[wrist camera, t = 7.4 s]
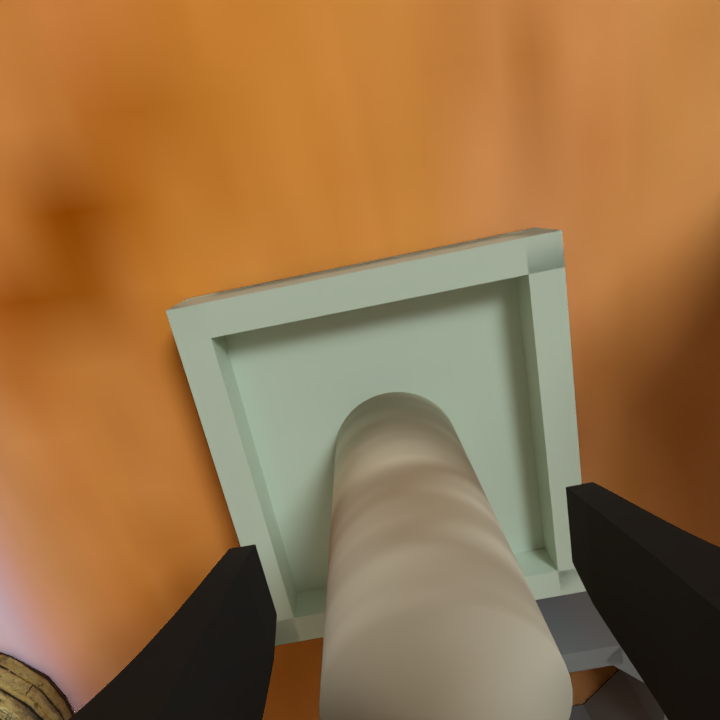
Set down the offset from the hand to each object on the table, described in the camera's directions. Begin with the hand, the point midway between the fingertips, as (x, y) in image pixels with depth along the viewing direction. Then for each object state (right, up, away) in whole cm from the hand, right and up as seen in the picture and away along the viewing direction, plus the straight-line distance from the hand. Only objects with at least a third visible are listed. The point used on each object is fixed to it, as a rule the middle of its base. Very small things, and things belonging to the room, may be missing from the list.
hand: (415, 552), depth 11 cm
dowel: (0, +1, +5) cm, 5 cm away
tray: (0, +2, +6) cm, 6 cm away
